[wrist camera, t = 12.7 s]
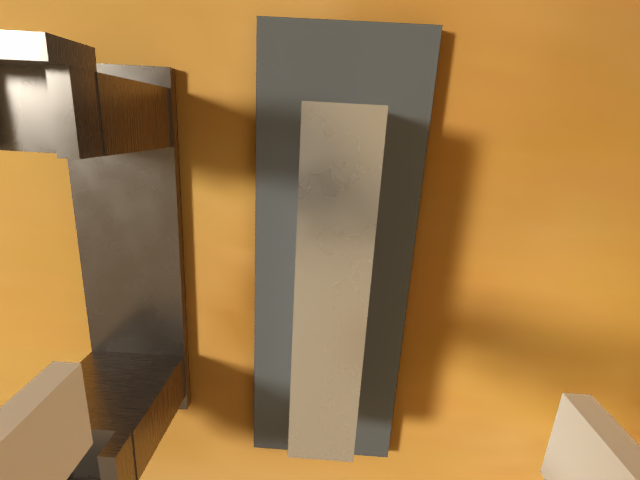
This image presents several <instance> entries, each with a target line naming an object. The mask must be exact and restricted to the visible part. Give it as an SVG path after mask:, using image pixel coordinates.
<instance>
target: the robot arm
mask: <svg viewBox="0 0 640 480" xmlns="http://www.w3.org/2000/svg"><path fill="white" fill-rule="evenodd" d="M92 444H93V439H92V433H91V426H90V419H89V413H88V406H87V399H86V393H85V386H84V379H83V373H82V366H81V363H72V362H56V361H53V362H52V363H51V364H50V365H49V366H47V367H46V368H45V369H44V370H43V371H42V372H41V373H39V374H38V375H37V376H36V377H35V378H34V379H33V380H31V381H30V382H29V383H28V384H27V385H26V386H25V387H23V388H22V389H21V390H20V391H19V392H18V393H17V394H15V395H14V396H13V397H12V398H11V399H10V400H9V401H7V402H6V403H5V404H4V405H3V406H2V407H1V408H0V480H67V479H68V477H69V476H70V474H71V473H72V472H73V470H74V469H75V468H76V466H77V465H78V464H79V462H80V461H81V459H82V458H83V457H84V455H85V454H86V453H87V451H88V450H89V448H90V447H91V446H92ZM540 472H541V474H542V476H543V477H544V479H545V480H640V446H639V445H638V444H637V443H636V441H635V440H634V439H633V438H632V437H631V436H630V435H629V434H628V433H627V432H626V431H625V430H624V429H623V428H622V427H621V426H620V424H619V423H618V422H617V421H616V420H615V419H614V418H613V417H612V416H611V415H610V414H609V413H608V412H607V411H606V410H605V409H604V408H603V406H602V405H601V404H600V403H599V402H598V401H597V400H596V399H595V398H594V397H593V396H592V395H591V394H575V393H563V394H562V397H561V401H560V404H559V408H558V411H557V415H556V418H555V422H554V425H553V429H552V433H551V436H550V440H549V443H548V447H547V450H546V454H545V457H544V461H543V464H542V468H541V471H540Z"/></svg>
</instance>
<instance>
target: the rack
mask: <svg viewBox="0 0 640 480" xmlns="http://www.w3.org/2000/svg"><path fill="white" fill-rule="evenodd" d="M0 150H9V151H26V152H44V153H57V158H66V159H68V167H69V174H70V182H71V190H72V198H73V206H74V214H75V222H76V229H77V237H78V245H79V253H80V261H81V269H82V277H83V285H84V292H85V300H86V308H87V316H88V324H89V332H90V340H91V347H92V352H91V353H90V354H89V355H88V356H87V357H86V358H85V359H83V360H82V361H81V362H80V363H81V366H82V373H83V379H84V386H85V393H86V399H87V406H88V413H89V419H90V426H91V433H92V439H93V444H92V446H91V447H90V448H89V450H88V451H87V453H86V454H85V455H84V457H83V458H82V459H81V461H80V462H79V464H78V465H77V466H76V468H75V469H74V470H73V472H72V473H71V474H70V476H69V477H68V479H67V480H139V479H140V477H141V475H142V473H143V471H144V470H145V468H146V466H147V464H148V462H149V461H150V459H151V457H152V455H153V453H154V452H155V450H156V448H157V446H158V444H159V443H160V441H161V439H162V437H163V435H164V434H165V432H166V430H167V428H168V427H169V425H170V423H171V421H172V419H173V418H174V416H175V414H176V412H177V410H178V409H188V407H189V405H190V403H191V401H190V380H189V359H188V338H187V317H186V296H185V275H184V255H183V234H182V213H181V192H180V171H179V150H178V129H177V108H176V88H175V69H173V68H171V67H155V66H136V65H117V64H98V63H96V57H95V48H93V47H90V46H87V45H84V44H81V43H77V42H74V41H71V40H68V39H65V38H62V37H59V36H55V35H52V34H49V33H46V32H33V31H13V30H0Z"/></svg>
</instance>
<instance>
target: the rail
mask: <svg viewBox="0 0 640 480" xmlns="http://www.w3.org/2000/svg"><path fill="white" fill-rule="evenodd" d="M387 114H388V106H386V105H369V104H351V103H333V102H315V101H302V105H301V130H300V156H299V181H298V207H297V232H296V257H295V283H294V308H293V334H292V359H291V385H290V410H289V436H288V457H294V458H306V459H319V460H332V461H345V462H353V458H354V448H355V438H356V428H357V418H358V408H359V397H360V387H361V377H362V367H363V357H364V347H365V337H366V327H367V317H368V306H369V296H370V286H371V276H372V266H373V256H374V246H375V236H376V225H377V215H378V205H379V195H380V185H381V175H382V165H383V155H384V145H385V134H386V124H387Z"/></svg>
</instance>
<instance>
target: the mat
mask: <svg viewBox="0 0 640 480" xmlns="http://www.w3.org/2000/svg"><path fill="white" fill-rule="evenodd" d="M441 33H442V25H430V24H410V23H389V22H369V21H349V20H328V19H308V18H288V17H268V16H257V60H256V207H255V354H254V447H259V448H272V449H285V450H288V436H289V410H290V385H291V359H292V334H293V308H294V283H295V257H296V232H297V207H298V181H299V156H300V130H301V105H302V101H315V102H333V103H351V104H369V105H386V106H388V114H387V124H386V134H385V145H384V155H383V165H382V175H381V185H380V195H379V205H378V215H377V225H376V236H375V246H374V256H373V266H372V276H371V286H370V296H369V306H368V317H367V327H366V337H365V347H364V357H363V367H362V377H361V387H360V397H359V408H358V418H357V428H356V438H355V448H354V455H365V456H378V457H388V449H389V441H390V433H391V425H392V417H393V410H394V402H395V394H396V386H397V378H398V370H399V363H400V355H401V347H402V339H403V331H404V323H405V315H406V308H407V300H408V292H409V284H410V276H411V268H412V261H413V253H414V245H415V237H416V229H417V221H418V214H419V206H420V198H421V190H422V182H423V174H424V166H425V159H426V151H427V143H428V135H429V127H430V119H431V112H432V104H433V96H434V88H435V80H436V72H437V64H438V57H439V49H440V41H441Z"/></svg>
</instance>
